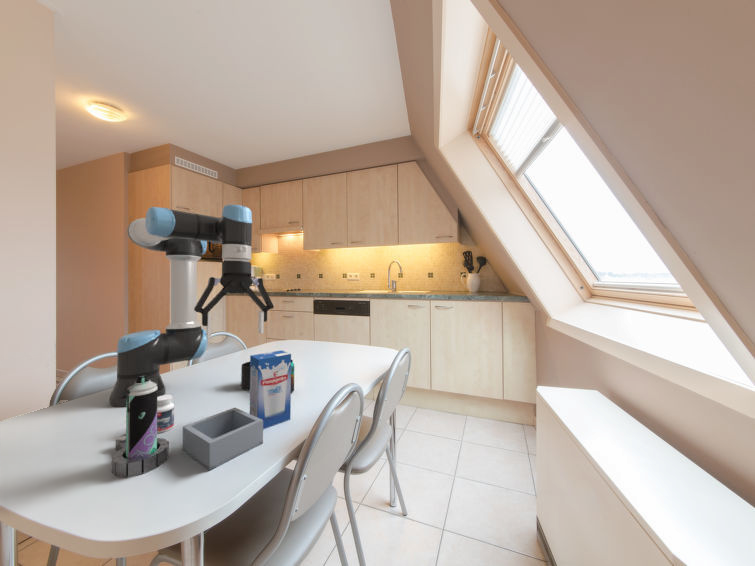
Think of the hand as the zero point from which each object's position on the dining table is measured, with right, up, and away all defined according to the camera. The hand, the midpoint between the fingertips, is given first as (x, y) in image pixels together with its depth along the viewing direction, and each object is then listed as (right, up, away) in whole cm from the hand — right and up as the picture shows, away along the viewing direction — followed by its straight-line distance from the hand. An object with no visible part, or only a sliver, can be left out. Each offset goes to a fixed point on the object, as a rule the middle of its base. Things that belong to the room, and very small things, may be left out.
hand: (236, 335), depth 81 cm
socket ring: (-17, -26, -14) cm, 34 cm away
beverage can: (+5, -27, +27) cm, 38 cm away
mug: (-8, -27, +32) cm, 43 cm away
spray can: (-14, -27, -16) cm, 34 cm away
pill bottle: (-20, -27, -1) cm, 33 cm away
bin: (+1, -27, -9) cm, 28 cm away
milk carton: (+8, -27, +4) cm, 28 cm away
